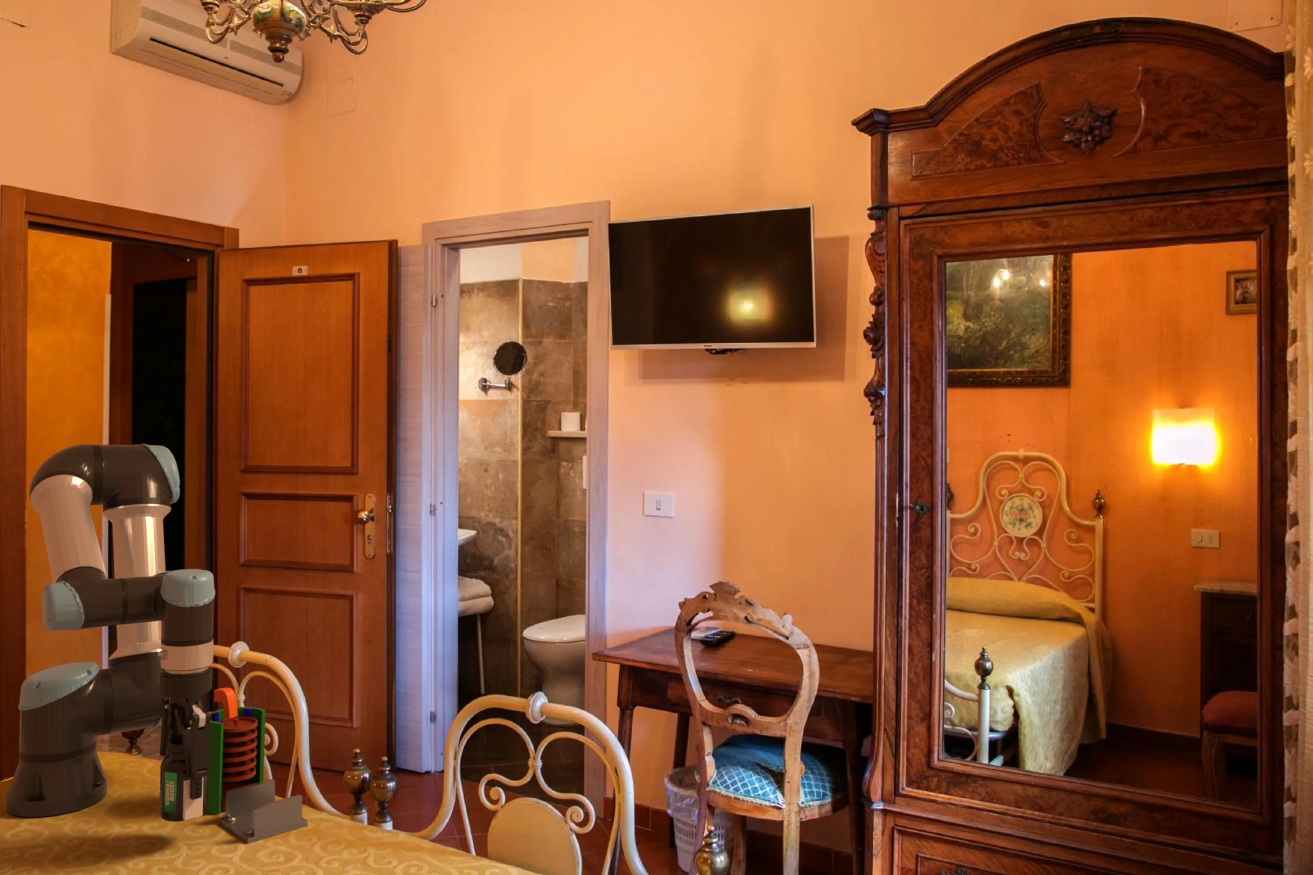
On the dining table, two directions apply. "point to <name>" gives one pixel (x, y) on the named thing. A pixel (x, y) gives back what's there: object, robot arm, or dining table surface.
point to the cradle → (261, 812)
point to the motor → (234, 749)
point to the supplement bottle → (175, 782)
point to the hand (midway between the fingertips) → (183, 809)
